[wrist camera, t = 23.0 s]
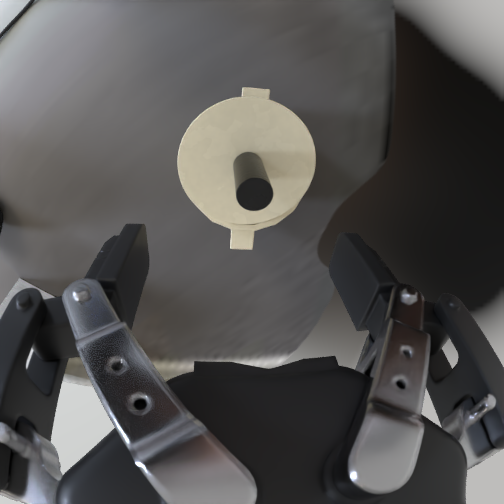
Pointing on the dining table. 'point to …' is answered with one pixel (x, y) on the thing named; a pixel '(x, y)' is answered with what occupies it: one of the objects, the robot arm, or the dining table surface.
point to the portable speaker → (1, 220)
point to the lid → (246, 160)
